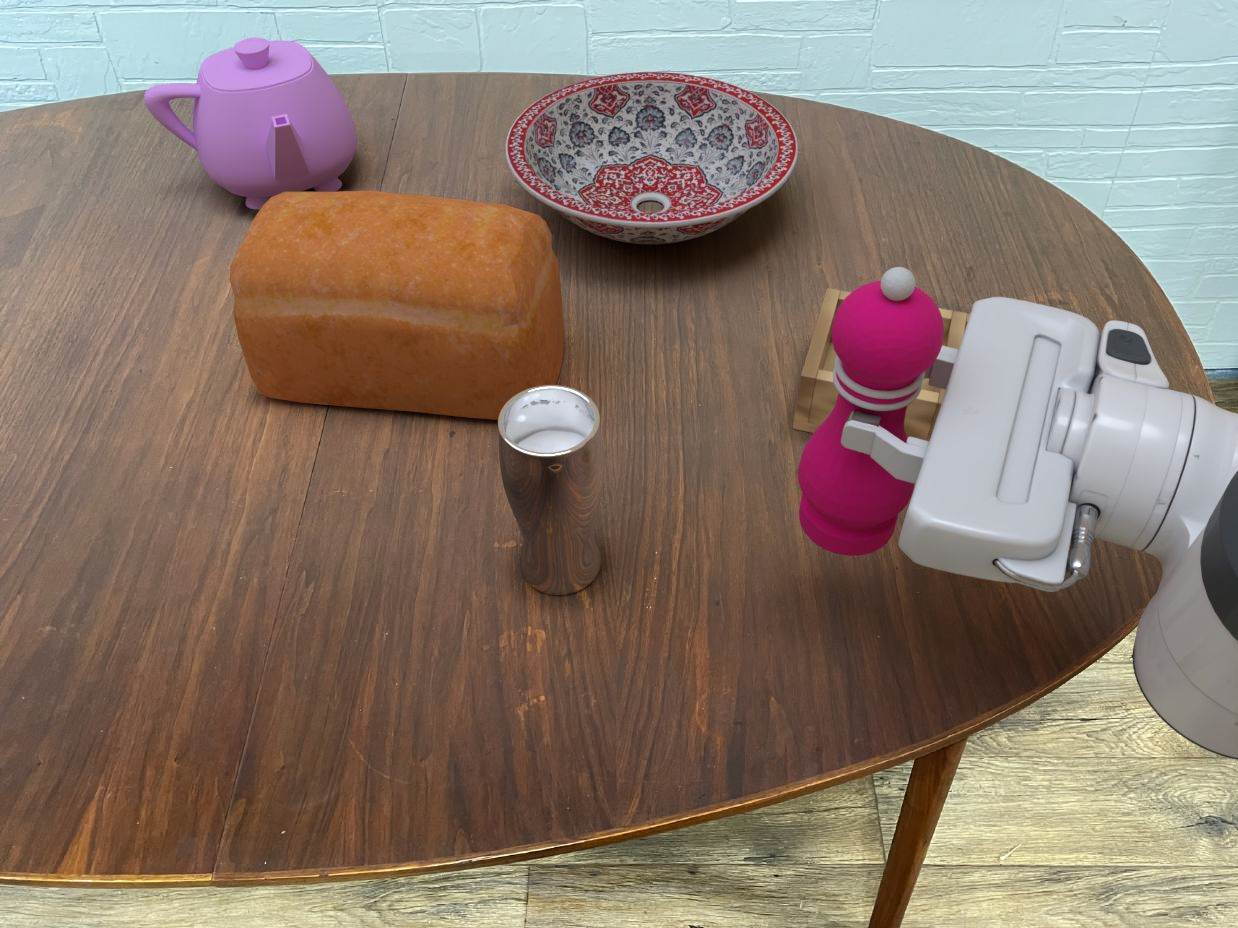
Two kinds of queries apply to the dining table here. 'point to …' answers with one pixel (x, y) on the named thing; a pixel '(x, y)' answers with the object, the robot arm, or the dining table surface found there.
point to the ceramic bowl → (651, 154)
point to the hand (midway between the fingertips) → (858, 392)
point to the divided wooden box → (820, 363)
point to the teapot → (263, 120)
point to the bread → (398, 302)
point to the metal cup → (554, 484)
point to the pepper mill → (873, 383)
